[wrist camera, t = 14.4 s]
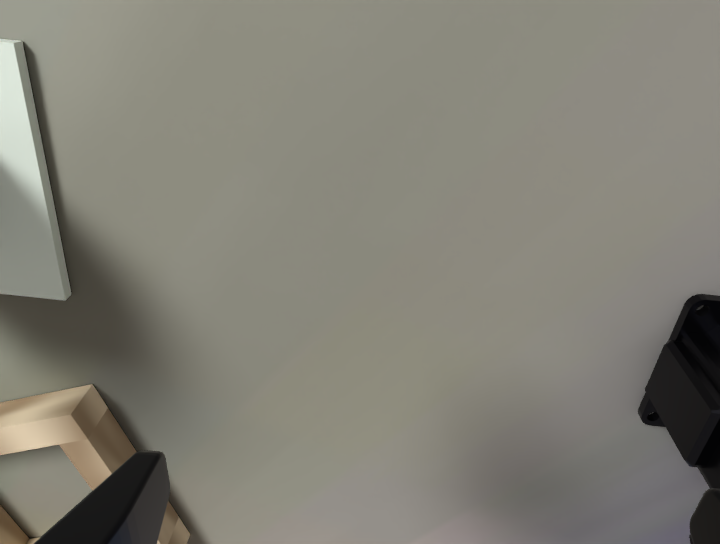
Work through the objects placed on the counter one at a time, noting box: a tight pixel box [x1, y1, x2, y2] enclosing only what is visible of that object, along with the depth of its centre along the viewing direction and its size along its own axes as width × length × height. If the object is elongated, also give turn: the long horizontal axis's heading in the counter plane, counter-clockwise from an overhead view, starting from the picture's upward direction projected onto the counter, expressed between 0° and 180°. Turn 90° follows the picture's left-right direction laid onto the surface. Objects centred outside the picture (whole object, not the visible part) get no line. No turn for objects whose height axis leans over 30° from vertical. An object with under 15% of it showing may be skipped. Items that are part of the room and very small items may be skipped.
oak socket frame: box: [0, 384, 190, 544], centre depth 29 cm, size 11×11×2 cm
